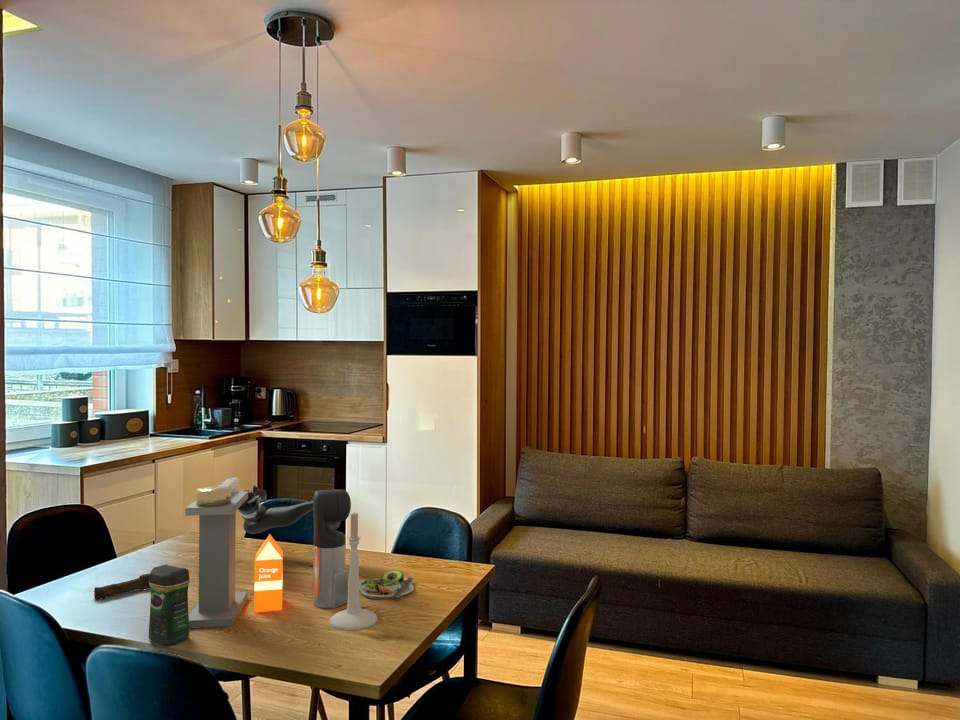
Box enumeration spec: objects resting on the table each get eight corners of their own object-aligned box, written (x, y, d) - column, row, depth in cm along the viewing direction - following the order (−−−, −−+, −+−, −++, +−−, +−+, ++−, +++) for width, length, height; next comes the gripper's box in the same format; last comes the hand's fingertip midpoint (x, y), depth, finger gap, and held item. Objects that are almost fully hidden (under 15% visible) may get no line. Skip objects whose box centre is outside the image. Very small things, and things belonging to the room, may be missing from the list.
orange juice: (253, 612, 194) (254, 541, 194) (255, 601, 203) (255, 534, 203) (282, 609, 196) (283, 540, 196) (282, 599, 205) (283, 532, 205)
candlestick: (326, 615, 192) (327, 508, 192) (371, 610, 196) (372, 505, 197) (333, 632, 180) (334, 518, 180) (381, 626, 184) (382, 515, 185)
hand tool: (97, 602, 202) (97, 586, 202) (93, 599, 205) (93, 583, 205) (163, 587, 216) (163, 573, 216) (158, 584, 218) (158, 570, 218)
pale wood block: (218, 486, 213) (218, 473, 213) (248, 486, 215) (248, 473, 215) (191, 507, 183) (192, 492, 183) (227, 506, 184) (227, 491, 184)
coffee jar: (195, 637, 176) (195, 565, 176) (167, 648, 169) (168, 573, 170) (170, 630, 181) (170, 559, 181) (142, 640, 174) (143, 567, 174)
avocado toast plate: (423, 600, 206) (423, 584, 206) (363, 606, 201) (363, 590, 201) (410, 580, 225) (410, 566, 225) (355, 585, 219) (355, 570, 219)
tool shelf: (205, 599, 204) (206, 492, 204) (247, 598, 206) (248, 491, 206) (184, 628, 182) (185, 508, 182) (231, 626, 184) (232, 506, 184)
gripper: (268, 514, 238) (261, 499, 224) (225, 515, 236) (216, 500, 222) (270, 493, 242) (263, 477, 228) (227, 494, 239) (219, 478, 226)
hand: (240, 488), depth 225 cm, fingers open, 8 cm apart
